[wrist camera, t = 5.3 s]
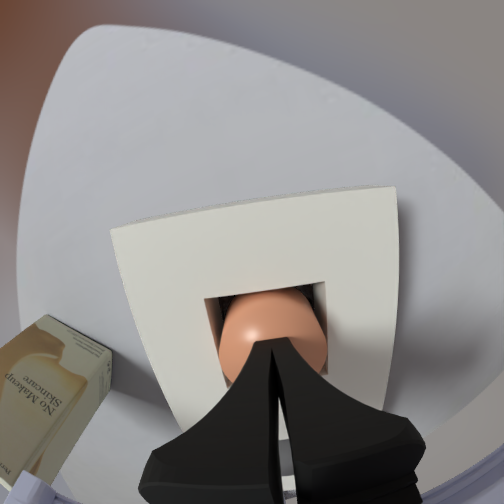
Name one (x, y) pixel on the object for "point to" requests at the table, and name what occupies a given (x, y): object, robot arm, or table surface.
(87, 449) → the table surface
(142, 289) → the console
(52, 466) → the skincare box
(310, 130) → the table surface
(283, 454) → the grey rounded piece
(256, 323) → the terracotta button
